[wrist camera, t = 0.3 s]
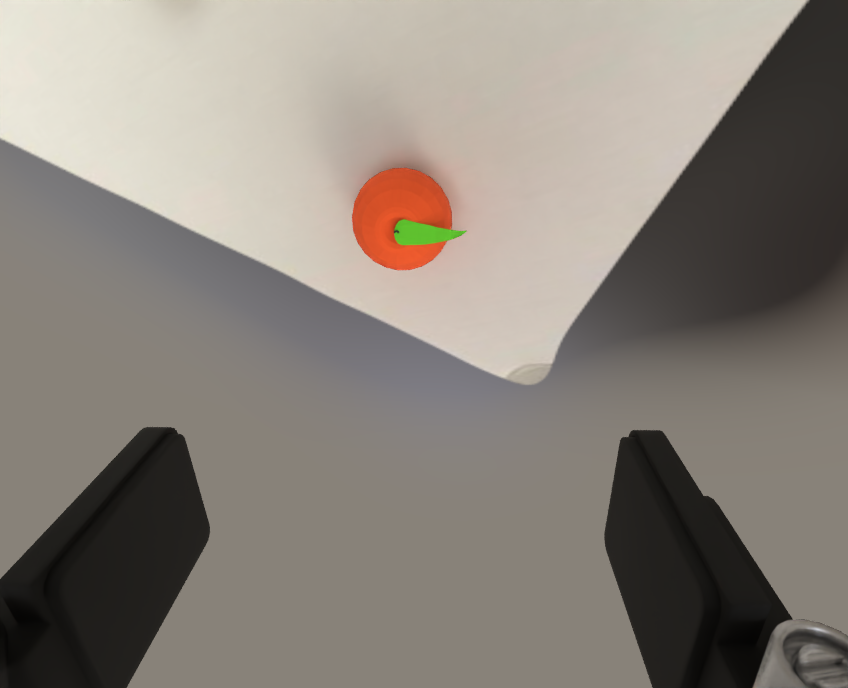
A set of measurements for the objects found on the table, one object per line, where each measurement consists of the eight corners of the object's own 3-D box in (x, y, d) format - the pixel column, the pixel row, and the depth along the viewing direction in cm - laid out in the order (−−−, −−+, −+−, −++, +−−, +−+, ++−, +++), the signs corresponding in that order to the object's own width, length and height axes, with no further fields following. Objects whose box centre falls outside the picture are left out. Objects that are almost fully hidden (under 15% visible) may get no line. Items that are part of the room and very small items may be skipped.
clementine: (472, 168, 37) (475, 183, 31) (460, 260, 40) (461, 291, 34) (362, 157, 37) (343, 169, 31) (359, 249, 40) (341, 278, 34)
